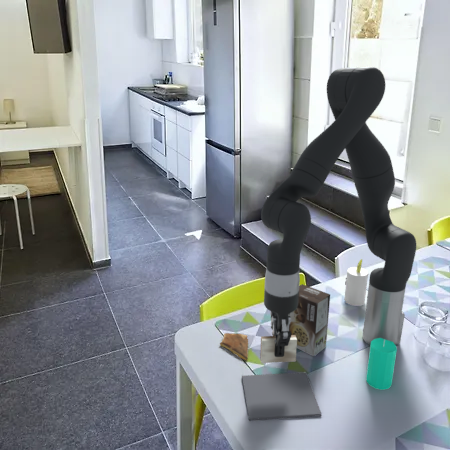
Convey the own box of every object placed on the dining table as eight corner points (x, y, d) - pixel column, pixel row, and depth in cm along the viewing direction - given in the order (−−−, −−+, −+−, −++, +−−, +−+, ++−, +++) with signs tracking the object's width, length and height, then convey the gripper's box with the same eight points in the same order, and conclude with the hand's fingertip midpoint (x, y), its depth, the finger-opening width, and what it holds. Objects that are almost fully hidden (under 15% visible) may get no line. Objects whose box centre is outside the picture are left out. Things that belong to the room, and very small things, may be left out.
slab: (293, 356, 109) (295, 335, 107) (295, 361, 108) (297, 339, 106) (260, 358, 109) (261, 336, 107) (261, 363, 107) (262, 341, 105)
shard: (247, 363, 120) (247, 357, 119) (218, 362, 121) (218, 356, 120) (248, 339, 130) (248, 333, 130) (221, 338, 131) (221, 332, 130)
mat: (306, 374, 115) (306, 372, 115) (321, 415, 102) (321, 413, 102) (242, 377, 114) (242, 375, 114) (249, 420, 101) (249, 418, 101)
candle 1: (348, 293, 153) (352, 252, 148) (367, 299, 149) (372, 257, 144) (340, 301, 148) (344, 259, 143) (360, 308, 145) (365, 264, 139)
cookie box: (327, 346, 126) (331, 294, 120) (313, 357, 122) (318, 303, 116) (299, 333, 132) (302, 283, 126) (285, 343, 127) (288, 291, 122)
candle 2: (388, 393, 109) (394, 350, 105) (362, 384, 112) (368, 342, 108) (394, 378, 114) (400, 337, 109) (369, 370, 117) (375, 329, 112)
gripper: (306, 302, 95) (300, 371, 102) (292, 272, 108) (288, 335, 114) (270, 303, 95) (266, 373, 101) (260, 273, 108) (258, 336, 114)
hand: (278, 353), depth 108 cm, fingers closed on slab, 1 cm apart
